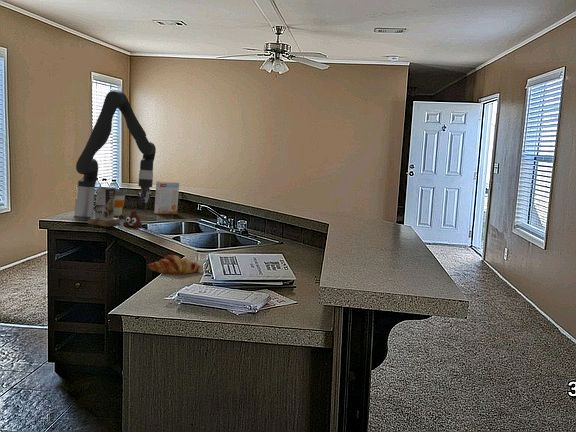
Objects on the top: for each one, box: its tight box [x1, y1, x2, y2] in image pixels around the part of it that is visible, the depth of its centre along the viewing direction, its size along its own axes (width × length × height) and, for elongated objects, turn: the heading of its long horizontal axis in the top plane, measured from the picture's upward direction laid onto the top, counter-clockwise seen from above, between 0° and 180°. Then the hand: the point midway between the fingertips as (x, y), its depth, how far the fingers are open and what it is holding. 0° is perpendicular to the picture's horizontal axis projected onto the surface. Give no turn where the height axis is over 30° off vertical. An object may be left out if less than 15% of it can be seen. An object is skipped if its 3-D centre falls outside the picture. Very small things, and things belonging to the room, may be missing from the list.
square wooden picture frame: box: [87, 216, 121, 228], centre depth 320 cm, size 12×12×3 cm
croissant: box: [147, 254, 203, 275], centre depth 226 cm, size 21×10×8 cm, turn 117°
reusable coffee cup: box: [113, 188, 127, 217], centre depth 359 cm, size 13×12×15 cm
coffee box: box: [94, 187, 116, 219], centre depth 319 cm, size 9×6×16 cm
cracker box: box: [153, 180, 180, 215], centre depth 386 cm, size 14×6×21 cm, turn 133°
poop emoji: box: [123, 209, 143, 229], centre depth 321 cm, size 10×8×9 cm
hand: (143, 209), depth 331 cm, fingers closed
